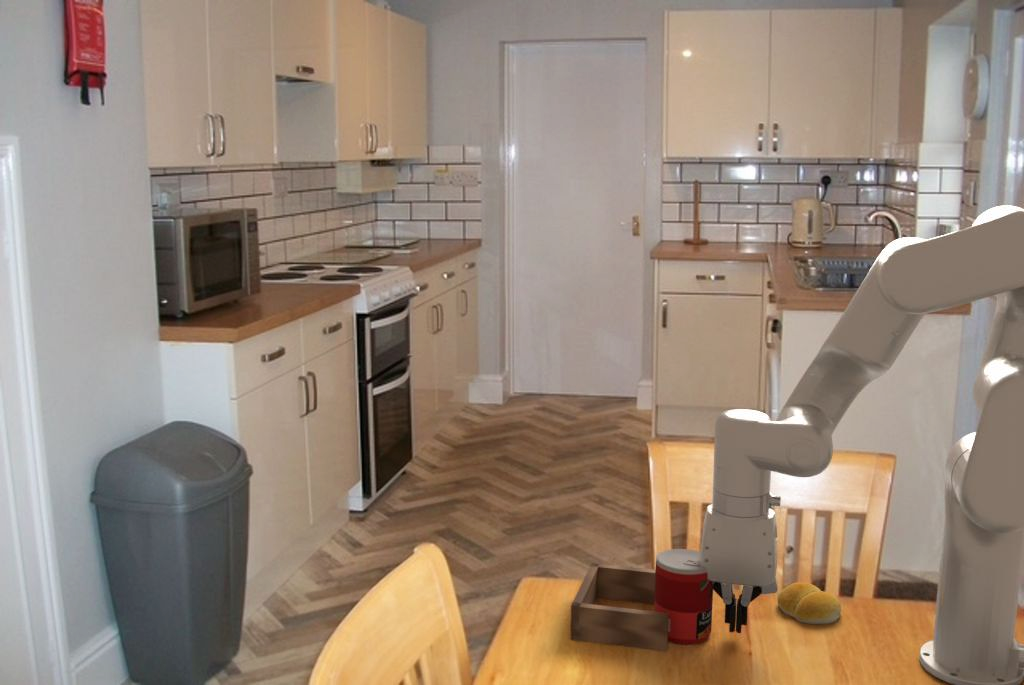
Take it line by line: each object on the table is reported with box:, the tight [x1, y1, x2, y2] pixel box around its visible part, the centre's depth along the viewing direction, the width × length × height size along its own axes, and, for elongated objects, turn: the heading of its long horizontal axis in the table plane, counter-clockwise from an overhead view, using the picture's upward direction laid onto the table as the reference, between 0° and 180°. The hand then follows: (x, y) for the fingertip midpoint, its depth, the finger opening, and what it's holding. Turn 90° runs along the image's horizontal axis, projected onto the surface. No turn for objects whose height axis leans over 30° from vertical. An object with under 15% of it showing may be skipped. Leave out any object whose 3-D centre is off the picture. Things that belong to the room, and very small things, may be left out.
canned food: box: [654, 548, 714, 646], centre depth 147 cm, size 8×8×11 cm
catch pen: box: [570, 562, 669, 652], centre depth 151 cm, size 13×15×5 cm
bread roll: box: [777, 581, 842, 625], centre depth 154 cm, size 8×9×4 cm
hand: (735, 628), depth 146 cm, fingers closed
